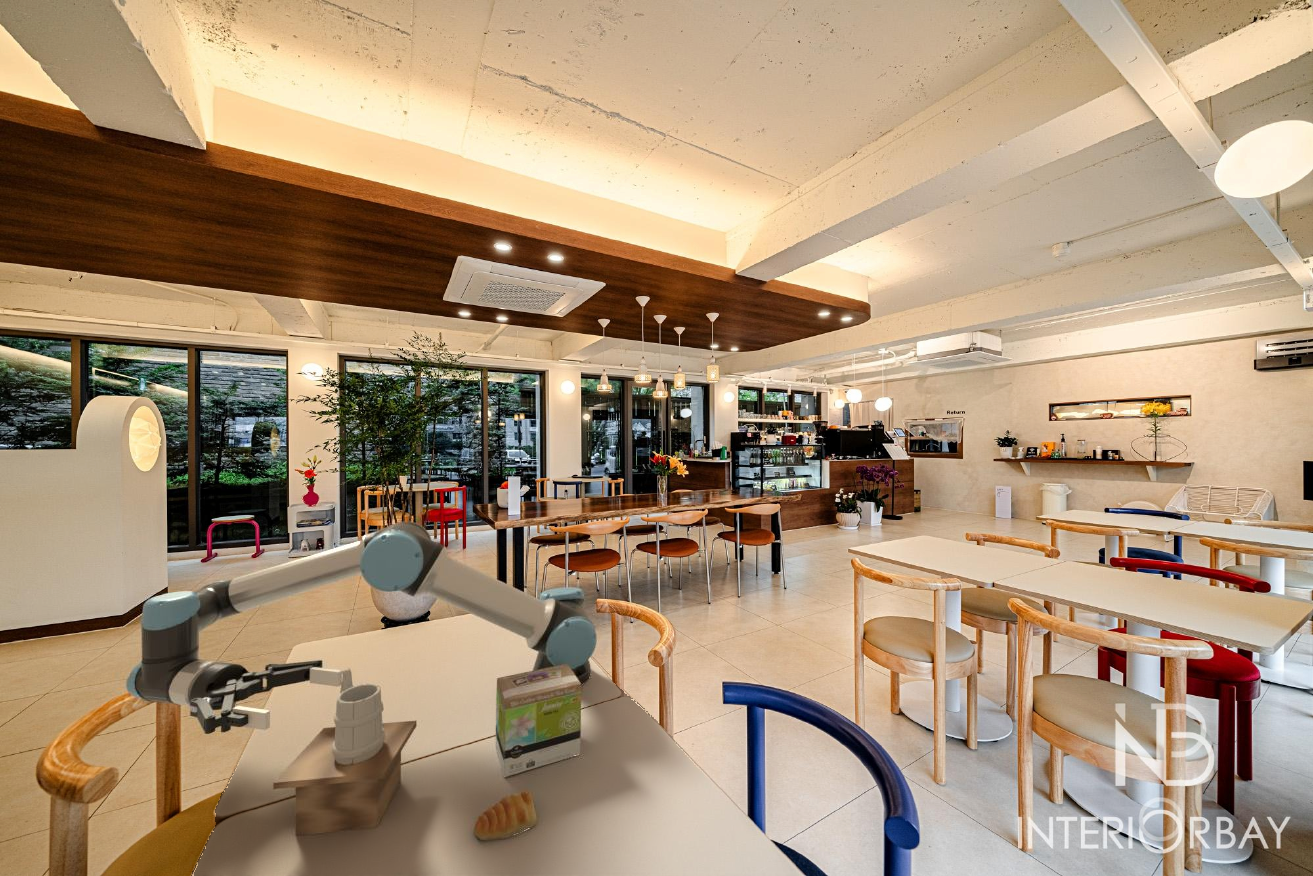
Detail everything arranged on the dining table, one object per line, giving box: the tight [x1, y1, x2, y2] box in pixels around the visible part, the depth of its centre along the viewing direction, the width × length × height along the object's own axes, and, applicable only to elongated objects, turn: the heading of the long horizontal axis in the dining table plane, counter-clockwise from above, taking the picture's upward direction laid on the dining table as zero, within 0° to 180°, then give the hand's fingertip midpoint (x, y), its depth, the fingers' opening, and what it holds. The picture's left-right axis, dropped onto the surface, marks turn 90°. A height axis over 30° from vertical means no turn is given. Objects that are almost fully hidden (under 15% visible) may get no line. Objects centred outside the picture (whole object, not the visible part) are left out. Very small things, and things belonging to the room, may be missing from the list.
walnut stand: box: [272, 720, 418, 837], centre depth 81 cm, size 16×14×10 cm
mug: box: [332, 668, 385, 765], centre depth 81 cm, size 8×12×12 cm, turn 51°
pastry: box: [473, 789, 538, 841], centre depth 77 cm, size 9×7×4 cm
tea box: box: [494, 664, 582, 779], centre depth 95 cm, size 15×10×15 cm, turn 117°
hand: (307, 697), depth 83 cm, fingers open, 13 cm apart
